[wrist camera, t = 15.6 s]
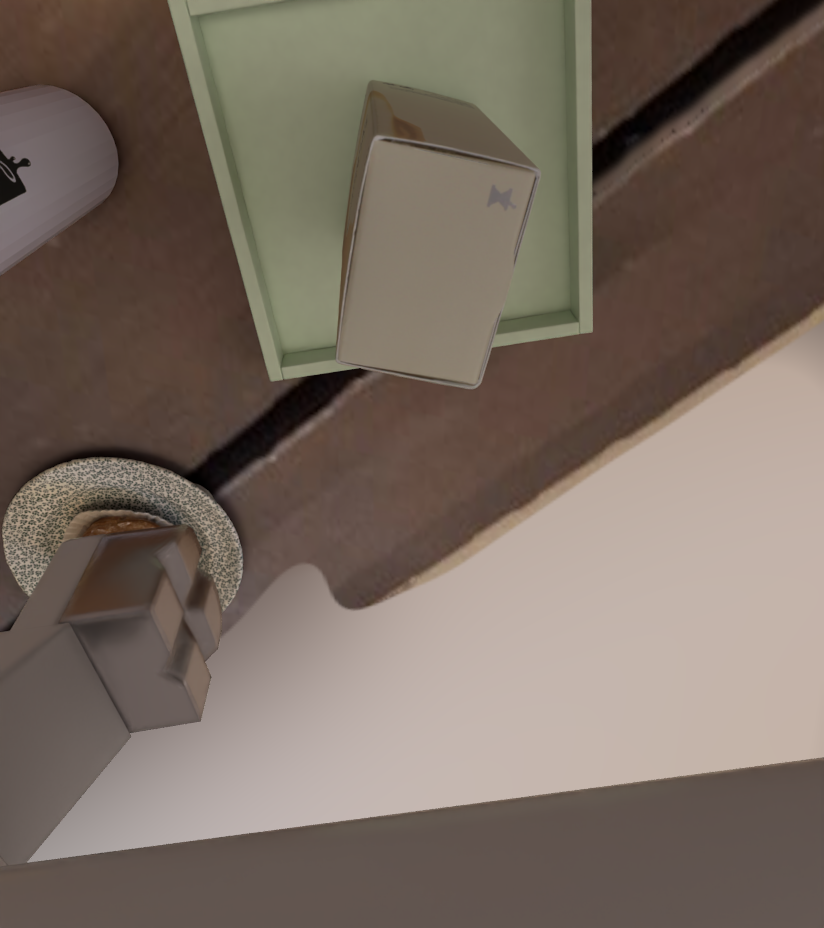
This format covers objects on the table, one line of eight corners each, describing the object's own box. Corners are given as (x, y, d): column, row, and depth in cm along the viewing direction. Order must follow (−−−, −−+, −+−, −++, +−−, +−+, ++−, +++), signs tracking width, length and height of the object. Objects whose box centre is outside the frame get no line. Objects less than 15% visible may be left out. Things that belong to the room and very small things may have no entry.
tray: (575, -66, 25) (591, -73, 24) (580, 315, 33) (593, 332, 31) (179, -1, 26) (166, -2, 24) (274, 362, 33) (269, 382, 31)
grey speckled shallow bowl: (212, 647, 42) (198, 711, 38) (-4, 595, 39) (-44, 658, 35) (274, 490, 37) (264, 546, 33) (27, 415, 34) (-16, 467, 30)
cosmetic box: (366, 76, 27) (370, 114, 16) (479, 102, 27) (551, 155, 17) (339, 247, 30) (328, 369, 20) (440, 267, 31) (481, 395, 20)
